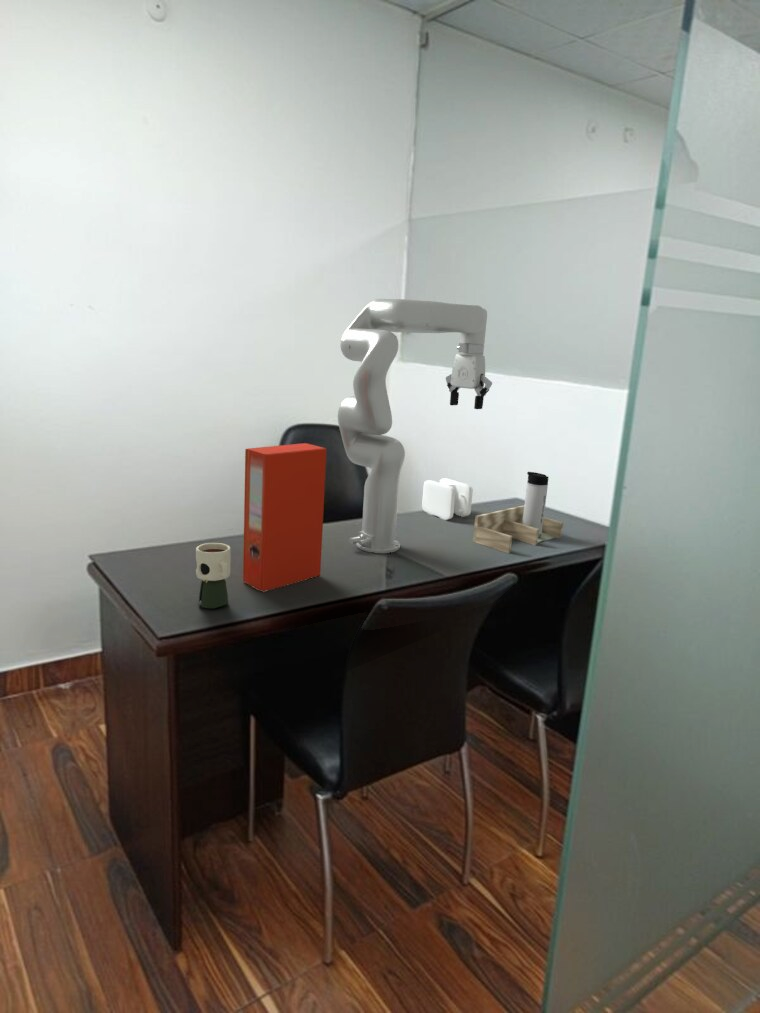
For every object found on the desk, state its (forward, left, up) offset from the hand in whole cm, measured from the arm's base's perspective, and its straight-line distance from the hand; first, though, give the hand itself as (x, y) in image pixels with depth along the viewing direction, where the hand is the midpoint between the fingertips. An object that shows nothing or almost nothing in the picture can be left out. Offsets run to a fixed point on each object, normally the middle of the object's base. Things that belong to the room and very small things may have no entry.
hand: (465, 407), depth 206 cm
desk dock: (+6, -21, -38) cm, 44 cm away
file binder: (-73, -8, -38) cm, 83 cm away
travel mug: (+12, -21, -38) cm, 45 cm away
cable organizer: (+8, +11, -39) cm, 41 cm away
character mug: (-94, -12, -38) cm, 102 cm away
